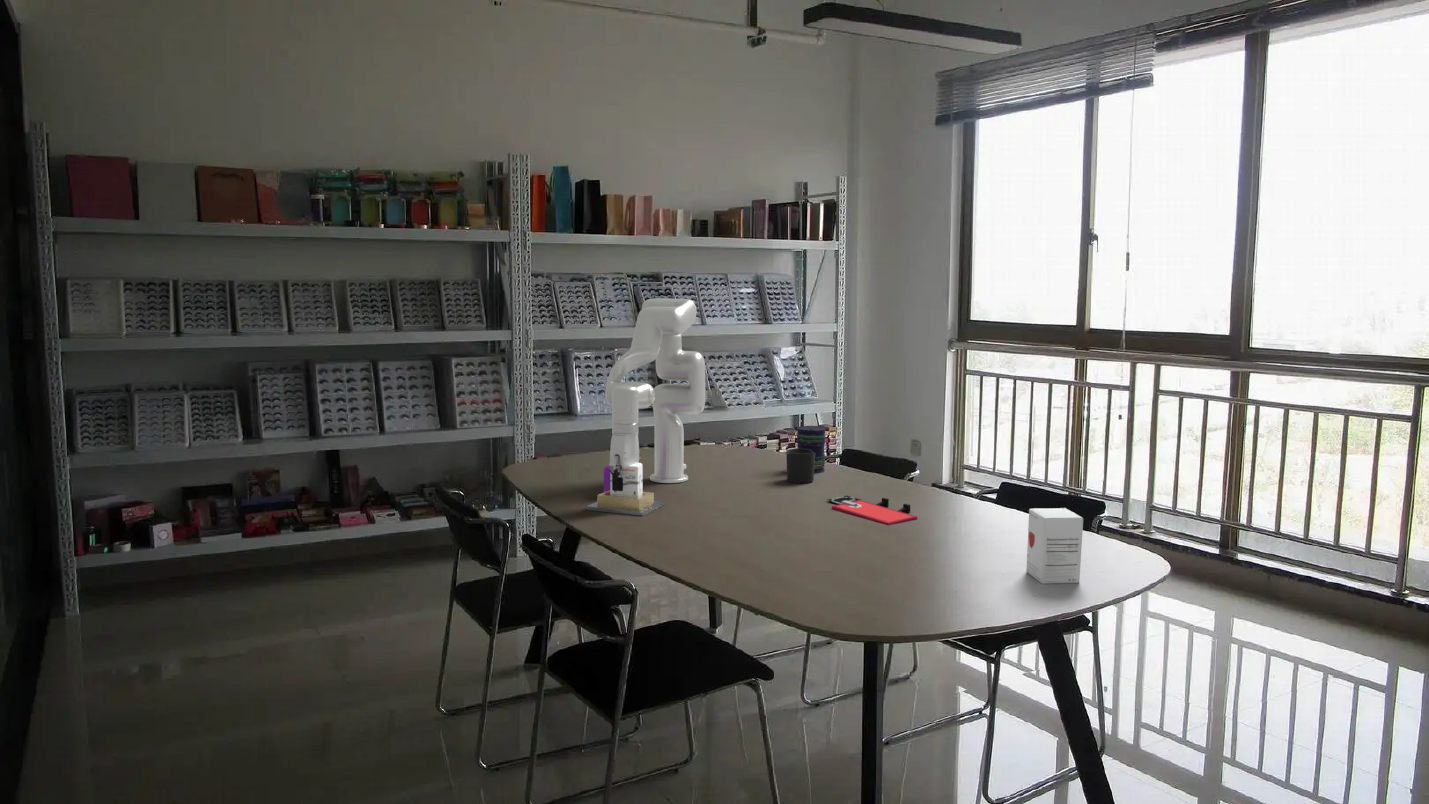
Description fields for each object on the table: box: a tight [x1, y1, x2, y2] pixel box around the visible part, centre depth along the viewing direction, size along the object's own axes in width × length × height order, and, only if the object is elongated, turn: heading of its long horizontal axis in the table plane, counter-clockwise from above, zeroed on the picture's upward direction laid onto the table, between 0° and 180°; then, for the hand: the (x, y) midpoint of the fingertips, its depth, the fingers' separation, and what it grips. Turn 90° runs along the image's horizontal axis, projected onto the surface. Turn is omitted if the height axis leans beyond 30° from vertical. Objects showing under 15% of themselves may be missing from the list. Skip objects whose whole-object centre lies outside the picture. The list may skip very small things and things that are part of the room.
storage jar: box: [796, 425, 826, 474], centre depth 336 cm, size 10×10×15 cm
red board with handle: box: [827, 495, 918, 526], centre depth 280 cm, size 30×3×15 cm
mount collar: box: [585, 490, 665, 517], centre depth 281 cm, size 14×18×4 cm
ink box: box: [610, 462, 644, 498], centre depth 281 cm, size 9×5×12 cm, turn 77°
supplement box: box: [1025, 507, 1084, 585], centre depth 218 cm, size 9×9×15 cm
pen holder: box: [785, 448, 815, 485], centre depth 319 cm, size 9×9×10 cm
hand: (625, 487), depth 281 cm, fingers open, 9 cm apart
